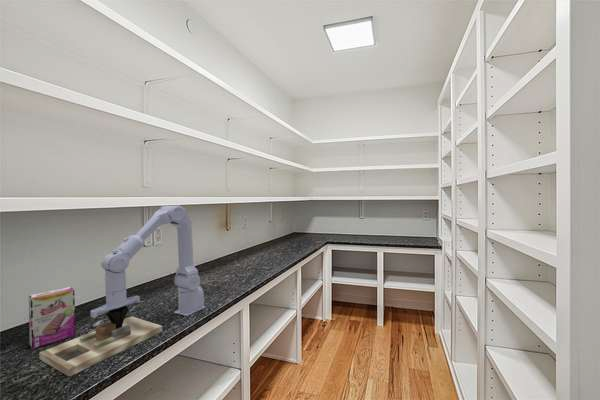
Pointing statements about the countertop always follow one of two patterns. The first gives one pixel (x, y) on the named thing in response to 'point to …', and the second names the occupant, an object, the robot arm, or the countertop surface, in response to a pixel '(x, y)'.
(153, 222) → the robot arm
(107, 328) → the walnut block
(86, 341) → the board
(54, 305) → the candy bar box
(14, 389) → the countertop surface
